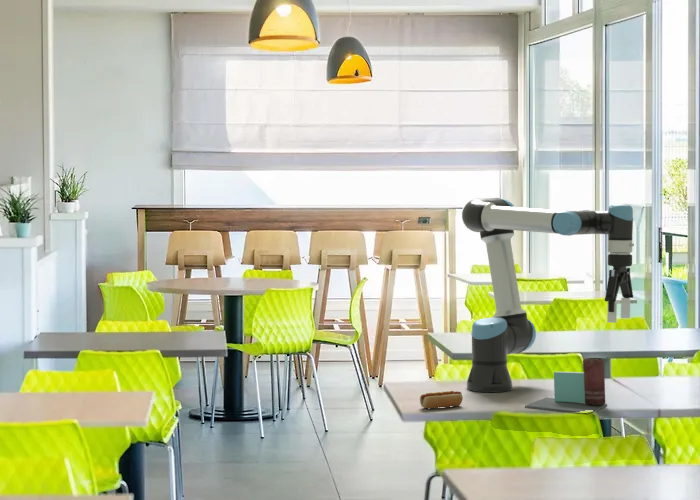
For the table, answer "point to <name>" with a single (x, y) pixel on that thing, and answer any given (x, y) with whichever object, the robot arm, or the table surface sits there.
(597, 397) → the can
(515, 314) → the robot arm
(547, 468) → the table surface
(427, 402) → the food
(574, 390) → the tile
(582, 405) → the mat
